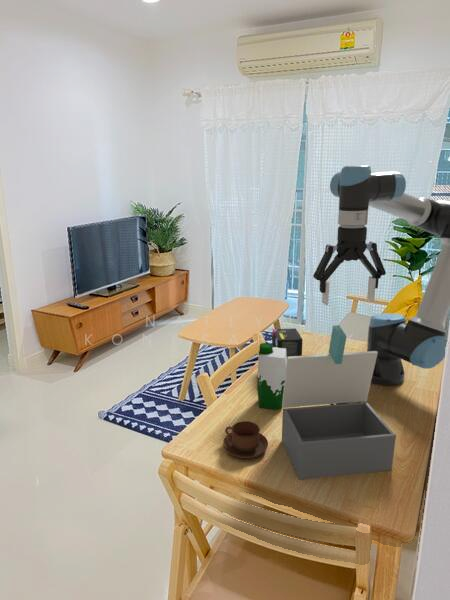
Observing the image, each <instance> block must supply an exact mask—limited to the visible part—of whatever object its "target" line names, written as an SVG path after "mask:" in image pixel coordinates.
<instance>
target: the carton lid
mask: <svg viewBox="0 0 450 600" xmlns="http://www.w3.org/2000/svg"><path fill="white" fill-rule="evenodd" d="M346 341H347V335H346V333H345V332H344V330H343V329H342V328H341V326H340V325H333V326H332V329H331V335H330V341H329V349H328V353H324V354H309V355H302V356H291V357H287V364H286V373H285V383H284V392H283V401H282V409H287V408H299V407H312V406H324V405H331V404H334V405H336V403H348V402H367V401H368V397H369V392H370V388H371V383H372V382H371V380H372V375H373V371H374V367H375V362H376V358H377V354H378V352H377V351H368V352H367V351H357V352H355V351H354V352H345V347H346Z"/></svg>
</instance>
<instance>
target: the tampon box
mask: <svg viewBox="0 0 450 600" xmlns="http://www.w3.org/2000/svg"><path fill="white" fill-rule="evenodd" d="M300 334H301V333H299V331H298V329H296V328H272V334H271V335H272V336H271V337H272V338H271V344H272V345H273V347H278V348H286V355H287V357H291V356H303V337H302V336H301V335H300Z"/></svg>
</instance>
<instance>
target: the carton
mask: <svg viewBox="0 0 450 600" xmlns="http://www.w3.org/2000/svg"><path fill="white" fill-rule="evenodd" d="M281 422H282V423H281V424H282V425H281V443H282V445H283V447H284V449H285V452H286V454H287V456H288V458H289V461H290V462H291V465H292V467H293V470H294V471H295V474H296V476H297V479H298V480H299V481H300V480H307V479H317V478H318V479H319V478H326V477H336V476H347V475H357V474H365V473H366V474H367V473H376V472H385V471H387V472H388V471H392V470H393V463H394V455H395V446H396V438H397V435H396V434H395V432H394V431H393V430H392V429H391V428H390V426H388V424H386V422H385V421H384V420H383V419H382V417H381V416H380V415H379V414H378V413H377V412H376V410H374V408H373V407H372V406H371V405H370V404H369V403H368V402H367V401H361V403H349V404H334V405H331V404H324V405H311V406H299V407H286V408H282V421H281Z"/></svg>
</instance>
